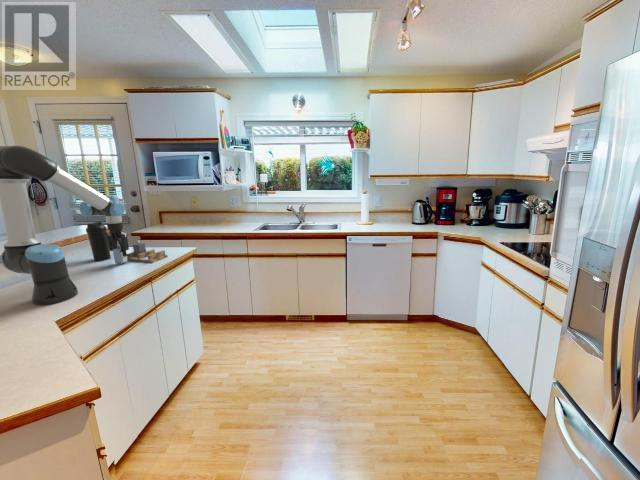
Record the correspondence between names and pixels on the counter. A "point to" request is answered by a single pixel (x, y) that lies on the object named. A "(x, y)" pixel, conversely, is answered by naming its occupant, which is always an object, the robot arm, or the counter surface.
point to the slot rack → (147, 256)
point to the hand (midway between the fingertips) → (121, 261)
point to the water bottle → (98, 241)
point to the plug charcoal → (139, 248)
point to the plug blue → (118, 255)
